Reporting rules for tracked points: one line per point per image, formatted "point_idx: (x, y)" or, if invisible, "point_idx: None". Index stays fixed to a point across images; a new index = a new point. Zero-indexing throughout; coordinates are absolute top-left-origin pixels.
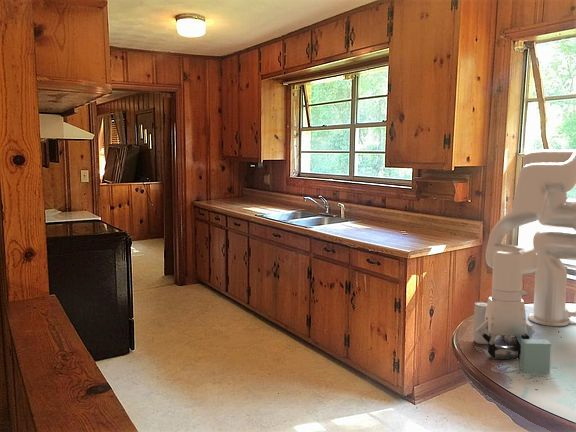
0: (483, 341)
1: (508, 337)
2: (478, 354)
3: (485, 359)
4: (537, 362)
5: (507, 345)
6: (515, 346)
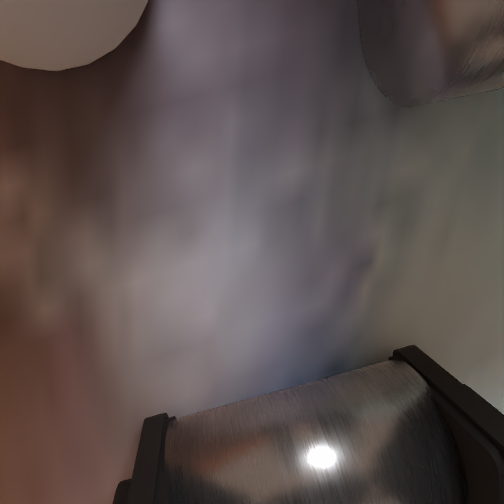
0: (50, 65)
1: (456, 63)
2: (33, 406)
3: (113, 495)
4: None
5: (372, 70)
6: (467, 485)
